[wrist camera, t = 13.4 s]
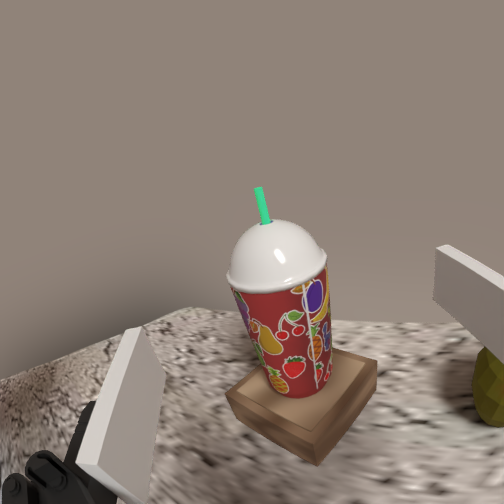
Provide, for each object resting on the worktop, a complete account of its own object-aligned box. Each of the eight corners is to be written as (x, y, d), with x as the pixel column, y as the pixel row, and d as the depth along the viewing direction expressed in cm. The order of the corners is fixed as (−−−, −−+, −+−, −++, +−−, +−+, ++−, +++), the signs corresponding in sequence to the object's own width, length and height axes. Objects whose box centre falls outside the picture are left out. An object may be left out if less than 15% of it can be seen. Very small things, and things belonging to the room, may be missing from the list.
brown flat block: (236, 419, 31) (223, 392, 30) (298, 362, 39) (292, 333, 37) (317, 466, 23) (312, 443, 21) (376, 389, 30) (377, 359, 28)
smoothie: (357, 374, 27) (335, 173, 20) (295, 423, 24) (237, 207, 17) (305, 344, 34) (269, 176, 27) (248, 381, 31) (188, 203, 24)
